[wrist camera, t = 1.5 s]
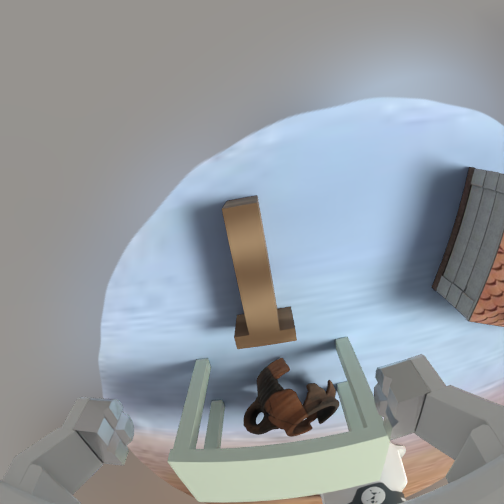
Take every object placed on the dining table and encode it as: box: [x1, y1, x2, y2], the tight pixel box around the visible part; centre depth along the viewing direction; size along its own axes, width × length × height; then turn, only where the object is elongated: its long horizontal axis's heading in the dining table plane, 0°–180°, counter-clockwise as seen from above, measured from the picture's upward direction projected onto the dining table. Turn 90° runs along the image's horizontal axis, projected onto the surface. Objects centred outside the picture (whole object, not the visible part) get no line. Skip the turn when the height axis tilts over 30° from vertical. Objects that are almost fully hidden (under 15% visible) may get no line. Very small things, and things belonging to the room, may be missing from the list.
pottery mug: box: [244, 358, 339, 437], centre depth 35 cm, size 12×9×8 cm
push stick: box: [222, 196, 297, 349], centre depth 30 cm, size 14×6×4 cm, turn 10°
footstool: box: [168, 337, 390, 502], centre depth 29 cm, size 9×19×16 cm, turn 100°
